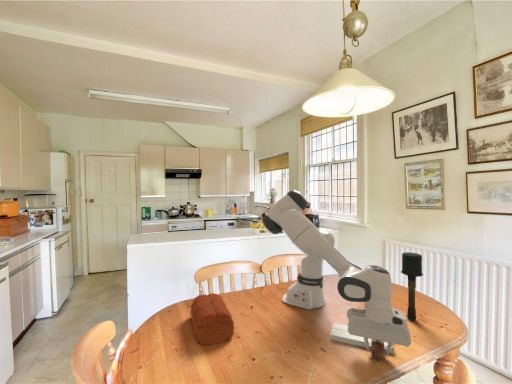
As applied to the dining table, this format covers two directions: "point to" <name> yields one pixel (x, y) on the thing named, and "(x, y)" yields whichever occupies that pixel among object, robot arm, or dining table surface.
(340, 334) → the board
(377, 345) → the block
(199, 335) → the bread
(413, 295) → the potato masher grenade
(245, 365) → the dining table surface
